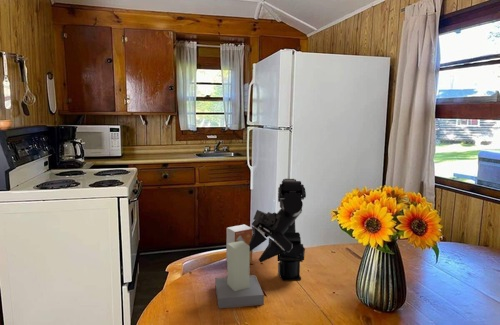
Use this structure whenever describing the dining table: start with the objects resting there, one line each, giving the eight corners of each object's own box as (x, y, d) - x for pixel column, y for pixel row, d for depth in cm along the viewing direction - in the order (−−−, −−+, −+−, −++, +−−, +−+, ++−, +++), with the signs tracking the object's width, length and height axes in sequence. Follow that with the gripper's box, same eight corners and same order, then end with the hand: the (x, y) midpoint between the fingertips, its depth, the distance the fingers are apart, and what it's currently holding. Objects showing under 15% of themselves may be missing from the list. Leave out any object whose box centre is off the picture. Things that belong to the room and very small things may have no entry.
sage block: (242, 280, 109) (242, 240, 108) (249, 287, 105) (249, 245, 103) (227, 284, 107) (227, 243, 105) (234, 291, 102) (234, 248, 101)
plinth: (255, 284, 114) (255, 275, 113) (263, 304, 101) (263, 294, 100) (215, 287, 111) (215, 278, 111) (218, 308, 99) (218, 298, 98)
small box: (234, 266, 127) (234, 231, 126) (226, 260, 133) (225, 227, 131) (253, 261, 132) (253, 228, 130) (244, 256, 137) (244, 223, 136)
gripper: (257, 195, 116) (225, 231, 113) (283, 207, 99) (247, 250, 96) (278, 216, 120) (248, 251, 117) (307, 231, 103) (273, 273, 100)
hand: (253, 255), depth 107 cm, fingers open, 9 cm apart
